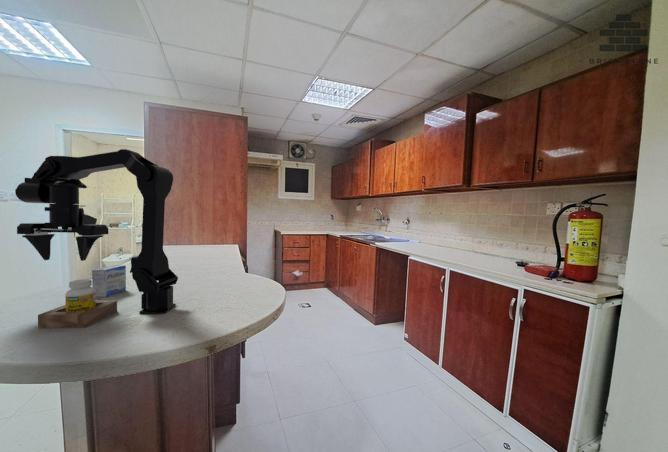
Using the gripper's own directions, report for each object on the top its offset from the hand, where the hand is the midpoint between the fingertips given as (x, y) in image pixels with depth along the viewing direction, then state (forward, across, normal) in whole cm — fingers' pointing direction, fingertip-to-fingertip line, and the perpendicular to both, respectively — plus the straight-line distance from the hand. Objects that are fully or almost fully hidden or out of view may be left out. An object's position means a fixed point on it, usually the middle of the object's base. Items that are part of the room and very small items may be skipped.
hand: (65, 260), depth 72 cm
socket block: (+13, -11, +9) cm, 19 cm away
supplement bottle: (+13, -11, +9) cm, 19 cm away
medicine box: (+13, -3, -12) cm, 18 cm away
